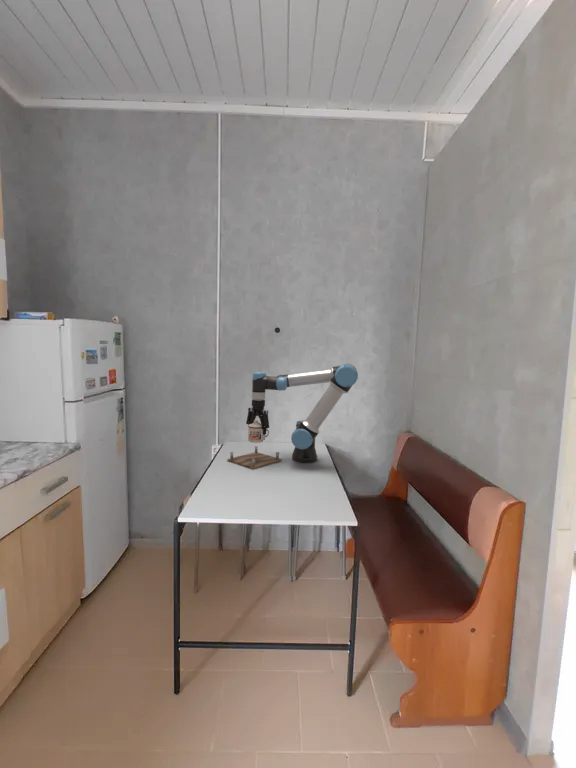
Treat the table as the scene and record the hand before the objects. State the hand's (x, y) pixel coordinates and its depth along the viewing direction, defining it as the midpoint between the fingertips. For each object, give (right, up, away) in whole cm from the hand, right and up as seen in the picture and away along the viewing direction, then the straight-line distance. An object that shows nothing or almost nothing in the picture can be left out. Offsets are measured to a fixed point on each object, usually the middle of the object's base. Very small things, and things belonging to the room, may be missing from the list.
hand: (257, 438), depth 223 cm
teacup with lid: (+1, -2, -1) cm, 2 cm away
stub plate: (-2, -13, +2) cm, 14 cm away
